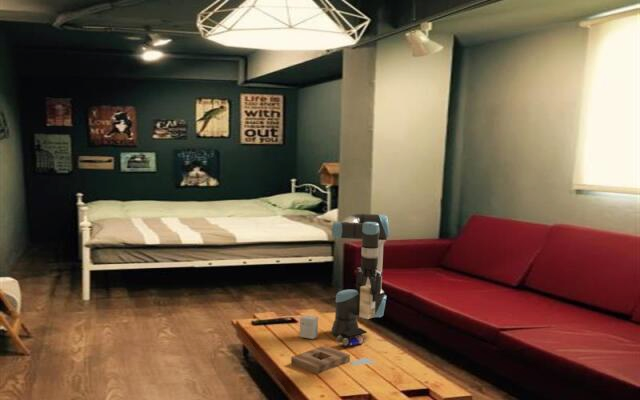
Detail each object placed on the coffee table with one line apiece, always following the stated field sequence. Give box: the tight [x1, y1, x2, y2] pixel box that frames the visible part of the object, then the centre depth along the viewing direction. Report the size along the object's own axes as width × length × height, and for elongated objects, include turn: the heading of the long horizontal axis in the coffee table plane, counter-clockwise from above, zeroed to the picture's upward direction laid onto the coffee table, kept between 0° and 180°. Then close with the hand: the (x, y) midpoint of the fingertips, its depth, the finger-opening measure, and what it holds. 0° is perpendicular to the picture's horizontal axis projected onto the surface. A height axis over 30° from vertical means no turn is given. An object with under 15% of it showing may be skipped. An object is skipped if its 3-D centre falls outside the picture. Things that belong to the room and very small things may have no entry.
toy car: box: [335, 327, 368, 349], centre depth 290 cm, size 7×8×15 cm
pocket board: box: [290, 345, 351, 375], centre depth 265 cm, size 22×16×4 cm
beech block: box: [358, 285, 376, 320], centre depth 263 cm, size 5×5×14 cm
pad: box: [350, 357, 378, 366], centre depth 266 cm, size 10×10×1 cm
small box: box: [299, 314, 319, 340], centre depth 301 cm, size 8×6×10 cm
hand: (367, 306), depth 263 cm, fingers closed on beech block, 5 cm apart
